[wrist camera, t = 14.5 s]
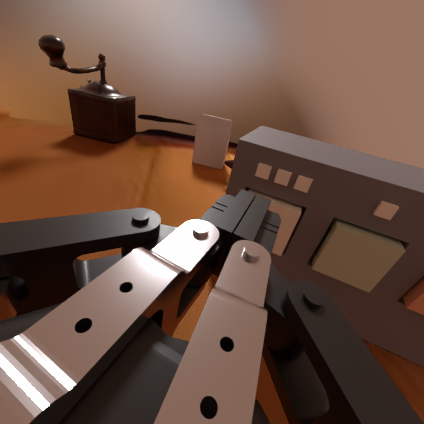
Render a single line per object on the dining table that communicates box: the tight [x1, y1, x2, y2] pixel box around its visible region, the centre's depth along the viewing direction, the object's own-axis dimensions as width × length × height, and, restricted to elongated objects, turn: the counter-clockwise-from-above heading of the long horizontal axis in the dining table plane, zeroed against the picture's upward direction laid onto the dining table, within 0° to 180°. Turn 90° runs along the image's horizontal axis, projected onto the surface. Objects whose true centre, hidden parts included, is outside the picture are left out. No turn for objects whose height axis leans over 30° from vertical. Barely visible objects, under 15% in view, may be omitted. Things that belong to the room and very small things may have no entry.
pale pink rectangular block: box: [192, 114, 233, 170], centre depth 48 cm, size 4×7×10 cm, turn 79°
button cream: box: [249, 188, 302, 256], centre depth 20 cm, size 4×4×4 cm
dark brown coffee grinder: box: [39, 35, 136, 144], centre depth 48 cm, size 16×11×18 cm
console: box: [220, 126, 424, 367], centre depth 21 cm, size 22×8×14 cm, turn 67°
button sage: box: [312, 217, 406, 292], centre depth 18 cm, size 4×4×4 cm
